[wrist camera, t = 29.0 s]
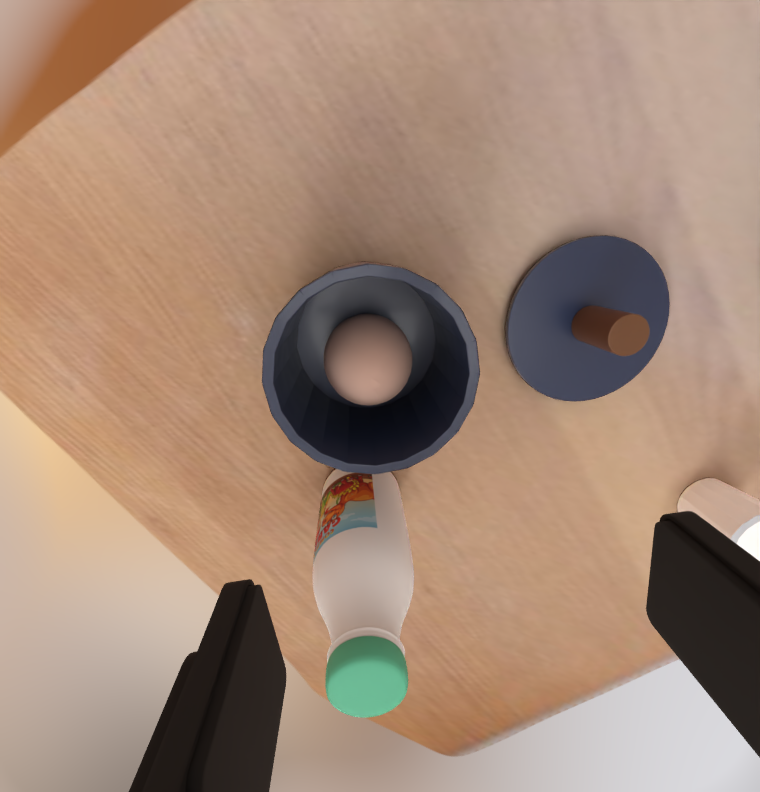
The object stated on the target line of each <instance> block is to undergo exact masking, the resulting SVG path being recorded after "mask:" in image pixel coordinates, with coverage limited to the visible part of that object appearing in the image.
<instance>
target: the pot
mask: <svg viewBox="0 0 760 792" xmlns="http://www.w3.org/2000/svg"><path fill="white" fill-rule="evenodd" d="M359 314H375V315H380V316H382V317H385V318H387V319H389V320H390V321H392V322H393V323H395V324H396V325H398V327H399V328H400V329H401V330H402V331H403V333H404V334H405V336H406V338H407V340H408V342H409V344H410V348H411V351H412V369H411V373H410V376H409V378H408V381H407V383H406V385H405V386H404V387H403V389H402V390H401V392H399V393H398V394H397V395H396V396H395V397H393V398H392V399H390V400H388V401H387V402H383V403H380V404H377V405H360V404H355V403H353V402H351V401H348V400H346V399H345V398H343V397H342V396H340V395H339V394H338V393H337V392H336V391H335V389H334V388H333V387H332V385H331V384H330V382H329V380H328V378H327V376H326V372H325V369H324V350H325V345H326V343H327V340H328V338H329V336H330V334H331V333H332V332H333V330H334V329H335V328H336V327H337V326H338V325H339V324H340V323H341V322H343V321H344V320H346V319H347V318H350V317H353V316H356V315H359ZM479 376H480V368H479V359H478V350H477V341H476V338H475V336H474V334H473V332H472V330H471V328H470V326H469V323H468V321H467V319H466V317H465V315H464V313H463V311H462V310H461V308H460V307H459V306H458V305H457V304H456V303H455V302H454V301H453V300H452V299H451V298H450V297H449V296H448V295H447V294H446V293H445V292H444V291H443V290H442V289H441V288H440V287H439V286H438V285H437V284H436V283H434V282H432V281H430V280H428V279H426V278H424V277H421V276H419V275H417V274H415V273H413V272H411V271H409V270H407V269H405V268H401V267H397V266H393V265H388V264H381V263H373V262H365V261H364V262H363V261H362V262H357V263H352V264H347V265H342V266H339V267H336V268H334V269H333V270H331V271H329V272H328V273H326V274H324V275H323V276H321V277H319V278H317V279H316V280H314V281H312V282H311V283H309V284H308V285H306V286H304V287H303V288H301V289H300V290H299V291H298V292H297V293H296V294H295V295H294V296H293V298H292V299H291V300H290V301H289V302H288V303H287V305H286V306H285V307H284V308H283V309H282V311H281V312H280V313H279V314H278V315H277V317H276V318H275V321H274V323H273V326H272V328H271V331H270V333H269V336H268V339H267V341H266V344H265V346H264V350H263V371H262V383H263V388H264V391H265V394H266V398H267V401H268V404H269V408H270V411H271V414H272V416H273V418H274V419H275V420H276V422H277V423H278V425H279V426H280V428H281V429H282V430H283V432H284V433H285V435H286V436H287V438H288V439H289V440H290V441H291V442H292V443H293V444H294V445H295V446H297V447H298V448H299V449H301V450H302V451H303V452H305V453H306V454H307V455H308V456H310V457H311V458H312V459H314V460H316V461H317V462H320V463H322V464H325V465H328V466H330V467H333V468H336V469H338V470H341V471H344V472H352V473H365V474H381V473H386V472H391V471H396V470H401V469H406V468H409V467H411V466H413V465H415V464H417V463H419V462H421V461H422V460H424V459H426V458H428V457H430V456H432V455H434V454H435V453H436V452H437V451H438V450H440V449H441V448H442V447H443V446H444V445H445V444H446V443H447V442H448V441H449V440H450V439H451V438H452V437H453V436H454V435H455V434H456V433H457V432H458V431H459V429H460V427H461V426H462V424H463V422H464V420H465V419H466V417H467V415H468V413H469V411H470V410H471V408H472V406H473V404H474V400H475V395H476V390H477V385H478V381H479Z"/></svg>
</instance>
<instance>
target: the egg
mask: <svg viewBox="0 0 760 792" xmlns="http://www.w3.org/2000/svg"><path fill="white" fill-rule="evenodd" d="M324 369H325V372H326V376H327V378H328V380H329V382H330V384H331V385H332V387H333V388H334V389H335V391H336V392H337V393H338V394H339V395H340V396H342V397H343V398H345V399H346V400H348V401H351V402H353V403H355V404H360V405H377V404H380V403H383V402H387V401H388V400H390V399H392V398H393V397H395V396H396V395H397V394H398V393H399V392H401V390H402V389H403V387H404V386H405V385H406V383H407V381H408V378H409V376H410V373H411V369H412V351H411V348H410V344H409V342H408V340H407V338H406V336H405V334H404V333H403V331H402V330H401V329H400V328H399V327H398V325H396V324H395V323H393V322H392V321H390V320H389V319H387V318H385V317H382V316H380V315H375V314H359V315H356V316H353V317H350V318H347V319H346V320H344V321H343V322H341V323H340V324H339V325H338V326H337V327H336V328H335V329H334V330H333V332H332V333H331V334H330V336H329V338H328V340H327V343H326V345H325V350H324Z"/></svg>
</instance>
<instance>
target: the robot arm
mask: <svg viewBox="0 0 760 792" xmlns="http://www.w3.org/2000/svg"><path fill="white" fill-rule="evenodd" d="M646 611H647V615H648V618H649V620H650V622H651V624H652V625H653V626H654V628H655V629H656V630H657V631H658V633H659V634H660V635H661V636H662V638H663V639H664V640H665V641H666V643H667V644H668V645H669V646H670V648H671V649H672V650H673V651H674V652H675V654H676V655H677V656H678V657H679V659H680V660H681V661H682V662H683V664H684V665H685V666H686V667H687V668H688V670H689V671H690V672H691V673H692V674H693V676H694V677H695V678H696V679H697V681H698V682H699V683H700V684H701V686H702V687H703V688H704V689H705V690H706V692H707V693H708V694H709V696H710V697H711V698H712V699H713V700H714V702H715V703H716V704H717V705H718V707H719V708H720V709H721V710H722V712H723V713H724V714H725V715H726V716H727V718H728V719H729V720H730V721H731V723H732V724H733V725H734V726H735V727H736V729H737V730H738V731H739V732H740V734H741V735H742V736H743V737H744V739H745V740H746V741H747V742H748V744H749V745H750V746H751V747H752V749H753V750H754V751H755V752H756V753H757V755H758V756H759V757H760V561H759V560H757V559H756V558H755V557H753V556H752V555H751V554H749V553H748V552H747V551H745V550H744V549H743V548H741V547H740V546H739V545H737V544H736V543H735V542H733V541H732V540H731V539H729V538H728V537H727V536H725V535H724V534H723V533H721V532H720V531H719V530H717V529H716V528H715V527H713V526H712V525H711V524H709V523H708V522H707V521H705V520H704V519H703V518H701V517H700V516H699V515H697V514H696V513H694V512H692V511H683V512H677V513H671V514H665V515H663V516H662V517H661V518H660V522H657V523H656V524H655V528H654V538H653V548H652V557H651V567H650V577H649V587H648V596H647V606H646ZM285 687H286V668H285V664H284V660H283V657H282V654H281V650H280V647H279V643H278V640H277V637H276V633H275V630H274V627H273V623H272V620H271V617H270V613H269V610H268V606H267V603H266V600H265V596H264V593H263V590H262V587H261V585H254V583H253V581H252V580H250V579H249V580H242V581H236V582H230V583H226V584H225V585H224V586H223V588H222V590H221V593H220V595H219V598H218V600H217V603H216V606H215V608H214V611H213V613H212V616H211V618H210V621H209V623H208V626H207V628H206V631H205V633H204V636H203V638H202V641H201V644H200V646H199V649H198V651H197V652H193V653H190V654H189V655H188V656H187V657H186V659H185V660H184V662H183V664H182V666H181V669H180V671H179V673H178V676H177V678H176V681H175V683H174V685H173V688H172V690H171V693H170V695H169V697H168V700H167V702H166V704H165V707H164V709H163V712H162V714H161V716H160V719H159V721H158V723H157V726H156V728H155V731H154V733H153V735H152V738H151V740H150V743H149V745H148V747H147V750H146V752H145V754H144V757H143V759H142V762H141V764H140V767H139V769H138V771H137V774H136V776H135V778H134V781H133V783H132V786H131V788H130V790H129V792H269V788H270V782H271V775H272V769H273V763H274V757H275V750H276V743H277V737H278V731H279V725H280V718H281V712H282V706H283V699H284V693H285Z"/></svg>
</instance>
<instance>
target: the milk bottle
mask: <svg viewBox="0 0 760 792" xmlns="http://www.w3.org/2000/svg"><path fill="white" fill-rule="evenodd" d="M413 587H414V567H413V559H412V552H411V546H410V540H409V535H408V529H407V524H406V519H405V514H404V509H403V504H402V499H401V494H400V490H399V486H398V483H397V480H396V478H395V477H394V475H393V474H392V473H391V472H386V473H381V474H365V473H352V472H344V471H341V470H338V469H335V470H334V471H333V472H332V473H331V474H330V475H329V477H328V478H327V480H326V482H325V484H324V487H323V491H322V497H321V504H320V511H319V519H318V527H317V534H316V543H315V551H314V562H313V589H314V595H315V599H316V603H317V606H318V609H319V611H320V613H321V616H322V618H323V620H324V622H325V624H326V626H327V628H328V631H329V634H330V638H331V643H332V644H331V646H330V648H329V650H328V654H327V662H328V663H327V668H326V693H327V697H328V699H329V701H330V703H331V704H332V705H333V706H334V707H335V708H337V709H338V710H339V711H341V712H343V713H345V714H348V715H351V716H354V717H374V716H378V715H382V714H384V713H387V712H389V711H390V710H392V709H394V708H395V707H396V706H397V705H398V704H400V702H401V701H402V700H403V699H404V697H405V695H406V692H407V687H408V672H407V665H406V660H405V650H404V647H403V644H402V642H401V641H400V633H401V628H402V624H403V621H404V618H405V616H406V613H407V611H408V608H409V605H410V602H411V598H412V594H413Z"/></svg>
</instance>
